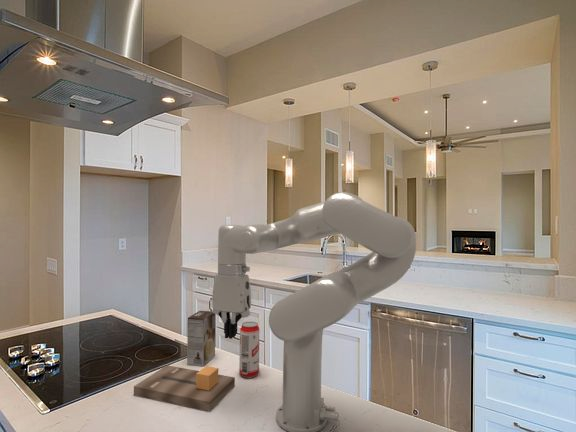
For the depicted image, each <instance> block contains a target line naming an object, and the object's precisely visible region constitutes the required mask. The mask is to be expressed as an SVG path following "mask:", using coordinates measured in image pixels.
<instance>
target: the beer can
mask: <svg viewBox="0 0 576 432" xmlns="http://www.w3.org/2000/svg"><path fill="white" fill-rule="evenodd" d="M260 332H261V330H260V327H259V324H258V322H257V321H245V322H242V323H241V327H240V329H239V367H238V368H239V369H238V370H239V374H240V376H241V377H242V378H245V379H253V378H255V377H257V375H258V374H259V373H260V334H261V333H260Z"/></svg>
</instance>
